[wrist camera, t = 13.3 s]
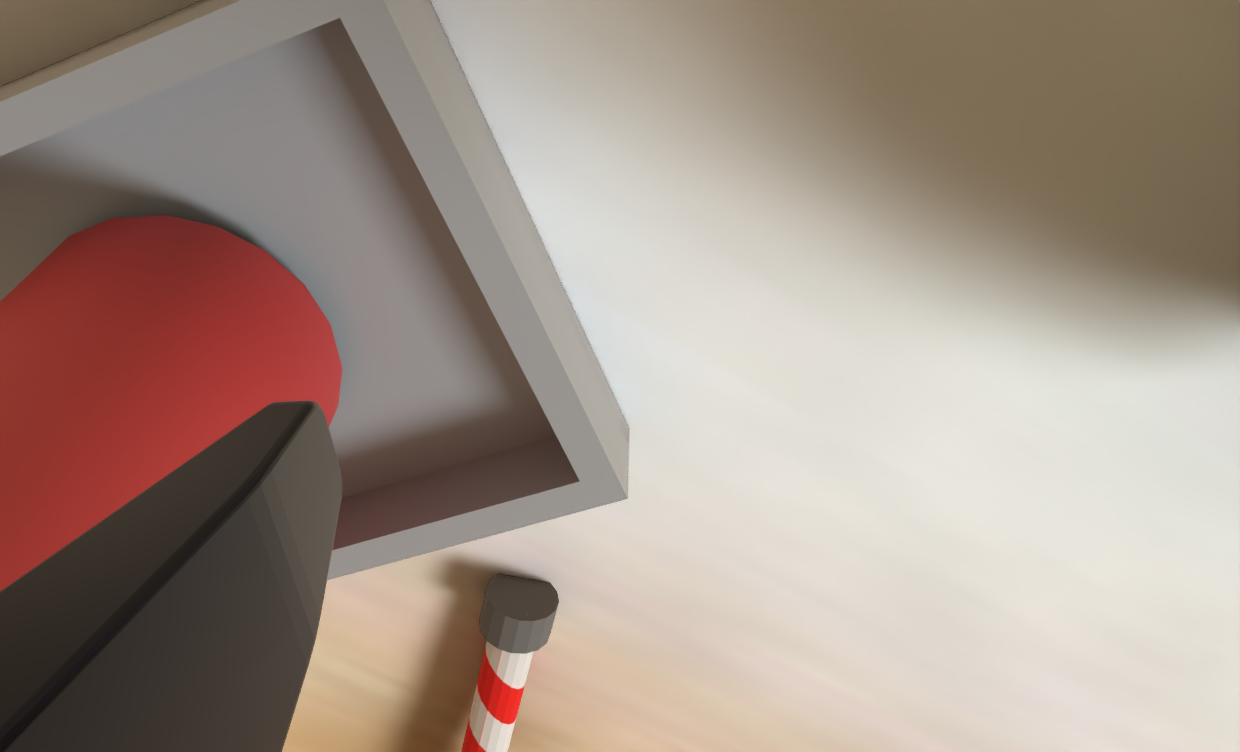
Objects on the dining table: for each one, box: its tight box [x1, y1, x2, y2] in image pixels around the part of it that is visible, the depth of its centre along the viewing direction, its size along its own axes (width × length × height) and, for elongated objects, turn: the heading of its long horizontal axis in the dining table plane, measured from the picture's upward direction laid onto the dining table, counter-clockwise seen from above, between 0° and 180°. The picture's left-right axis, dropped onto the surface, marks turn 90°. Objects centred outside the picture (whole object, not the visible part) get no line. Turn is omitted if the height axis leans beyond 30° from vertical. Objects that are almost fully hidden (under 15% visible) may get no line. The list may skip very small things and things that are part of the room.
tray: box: [0, 0, 629, 580], centre depth 22 cm, size 16×12×2 cm
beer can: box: [0, 215, 342, 591], centre depth 17 cm, size 7×7×12 cm
